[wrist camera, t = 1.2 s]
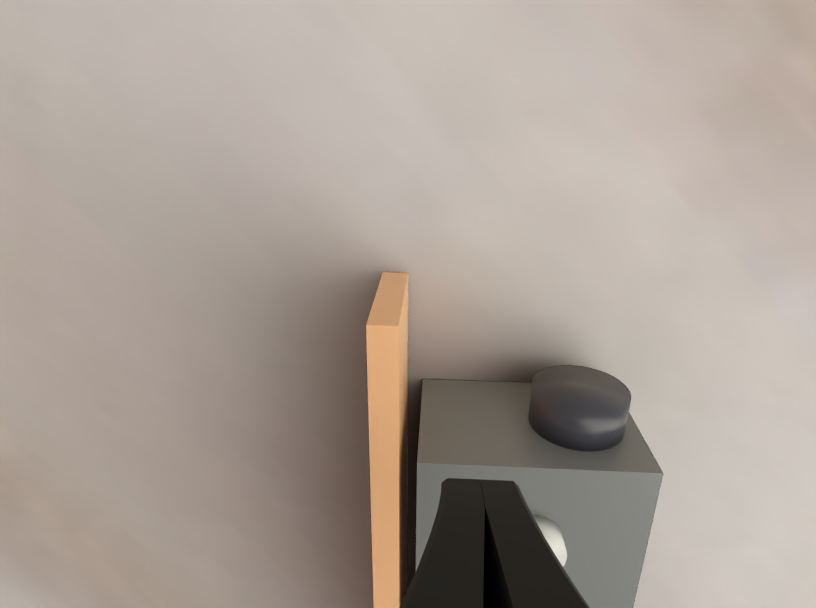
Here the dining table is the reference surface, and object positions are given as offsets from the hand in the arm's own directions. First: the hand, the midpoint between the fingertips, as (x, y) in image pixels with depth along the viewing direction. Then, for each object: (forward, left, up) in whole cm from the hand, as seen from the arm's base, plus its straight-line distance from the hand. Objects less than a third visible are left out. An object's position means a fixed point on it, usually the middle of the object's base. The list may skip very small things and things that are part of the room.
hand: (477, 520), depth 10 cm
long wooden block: (-6, +2, -8) cm, 10 cm away
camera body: (-8, -2, -8) cm, 12 cm away
